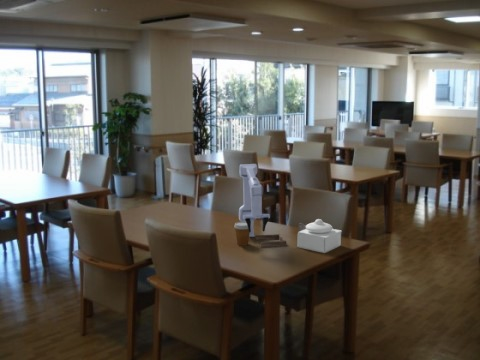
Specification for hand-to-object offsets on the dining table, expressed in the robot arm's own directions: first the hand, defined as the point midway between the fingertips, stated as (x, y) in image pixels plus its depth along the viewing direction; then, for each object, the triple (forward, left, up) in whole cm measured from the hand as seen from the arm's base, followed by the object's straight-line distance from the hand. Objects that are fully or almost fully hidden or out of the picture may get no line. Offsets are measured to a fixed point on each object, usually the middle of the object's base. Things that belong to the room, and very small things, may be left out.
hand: (256, 231), depth 300 cm
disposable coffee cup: (-11, -6, -10) cm, 16 cm away
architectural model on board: (-18, +34, -11) cm, 40 cm away
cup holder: (-11, +10, -10) cm, 18 cm away
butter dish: (+2, +35, -10) cm, 37 cm away
